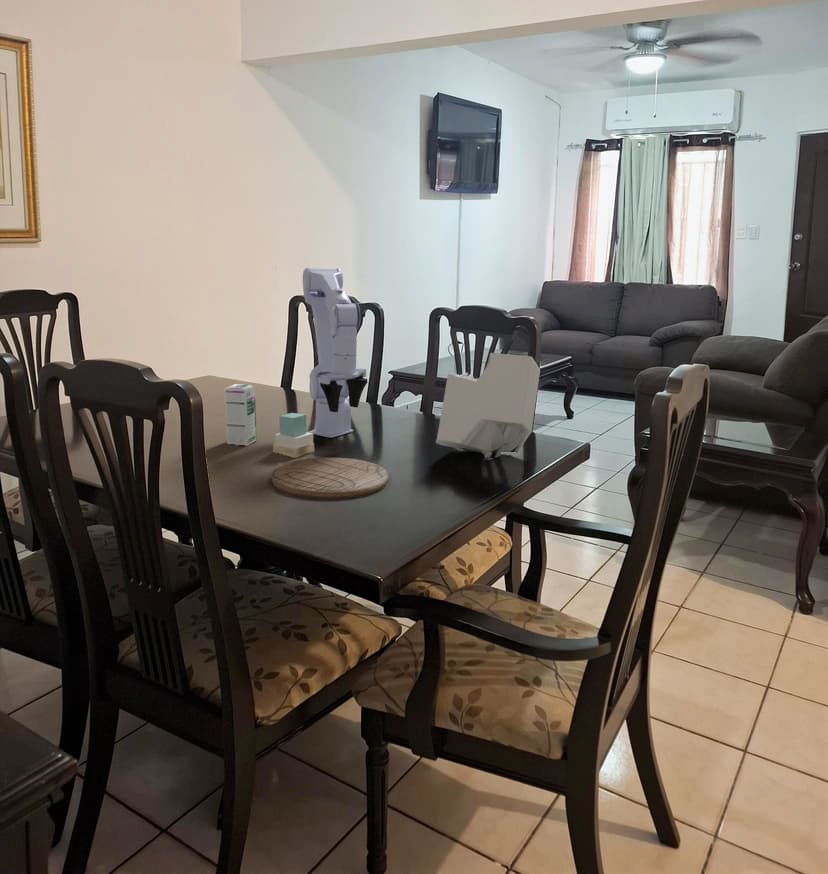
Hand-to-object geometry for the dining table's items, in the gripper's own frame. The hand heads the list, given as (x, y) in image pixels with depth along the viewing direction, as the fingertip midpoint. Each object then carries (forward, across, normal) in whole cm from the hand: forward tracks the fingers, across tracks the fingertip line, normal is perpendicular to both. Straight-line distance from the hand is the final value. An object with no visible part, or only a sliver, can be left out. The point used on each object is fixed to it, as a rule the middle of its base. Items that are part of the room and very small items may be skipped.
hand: (343, 409), depth 192 cm
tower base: (+10, -11, +6) cm, 16 cm away
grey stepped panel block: (+10, +17, -30) cm, 36 cm away
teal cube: (+5, -11, +6) cm, 14 cm away
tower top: (+8, -11, +6) cm, 15 cm away
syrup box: (+10, -13, +22) cm, 28 cm away
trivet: (+10, -22, -15) cm, 29 cm away
